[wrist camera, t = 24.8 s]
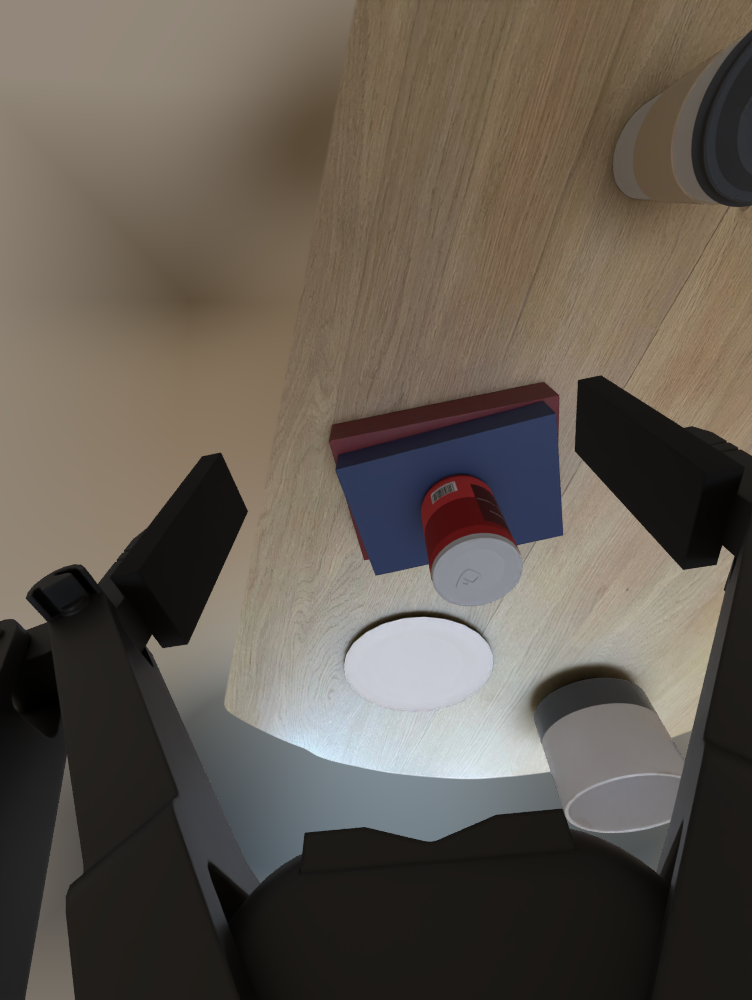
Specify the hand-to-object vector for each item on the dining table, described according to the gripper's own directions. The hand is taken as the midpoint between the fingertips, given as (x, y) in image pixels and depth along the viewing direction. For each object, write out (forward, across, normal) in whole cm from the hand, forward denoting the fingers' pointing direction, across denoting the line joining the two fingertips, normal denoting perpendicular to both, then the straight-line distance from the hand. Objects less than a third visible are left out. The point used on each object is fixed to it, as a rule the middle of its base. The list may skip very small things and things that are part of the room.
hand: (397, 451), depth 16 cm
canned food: (+24, +4, -19) cm, 31 cm away
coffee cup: (+32, +25, +8) cm, 41 cm away
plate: (+32, -5, -55) cm, 64 cm away
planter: (+32, +23, -71) cm, 81 cm away
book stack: (+31, +4, -19) cm, 37 cm away
